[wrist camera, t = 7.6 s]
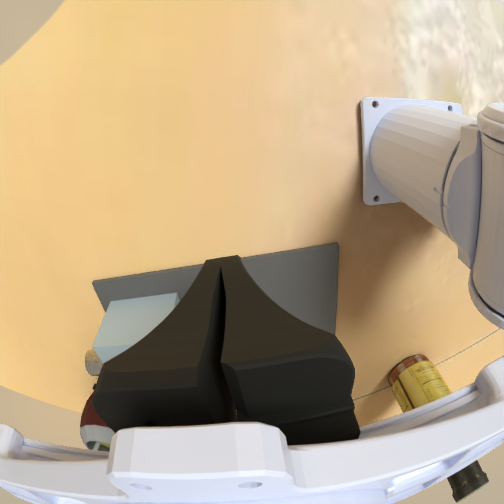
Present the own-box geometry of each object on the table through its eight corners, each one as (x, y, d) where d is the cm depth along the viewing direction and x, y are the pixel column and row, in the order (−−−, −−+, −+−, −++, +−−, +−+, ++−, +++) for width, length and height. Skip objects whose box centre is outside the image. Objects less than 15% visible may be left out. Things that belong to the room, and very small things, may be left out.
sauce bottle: (407, 384, 36) (460, 501, 18) (377, 382, 34) (431, 516, 17) (437, 351, 33) (504, 472, 16) (409, 346, 31) (481, 487, 14)
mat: (337, 242, 23) (338, 244, 23) (331, 359, 30) (332, 362, 30) (93, 280, 23) (92, 283, 23) (147, 384, 30) (147, 386, 30)
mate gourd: (153, 388, 30) (140, 512, 17) (139, 417, 34) (128, 520, 21) (89, 366, 28) (57, 488, 15) (85, 399, 31) (62, 501, 18)
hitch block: (177, 289, 24) (168, 341, 19) (204, 367, 29) (204, 416, 24) (111, 298, 24) (92, 347, 19) (149, 372, 29) (142, 418, 24)
